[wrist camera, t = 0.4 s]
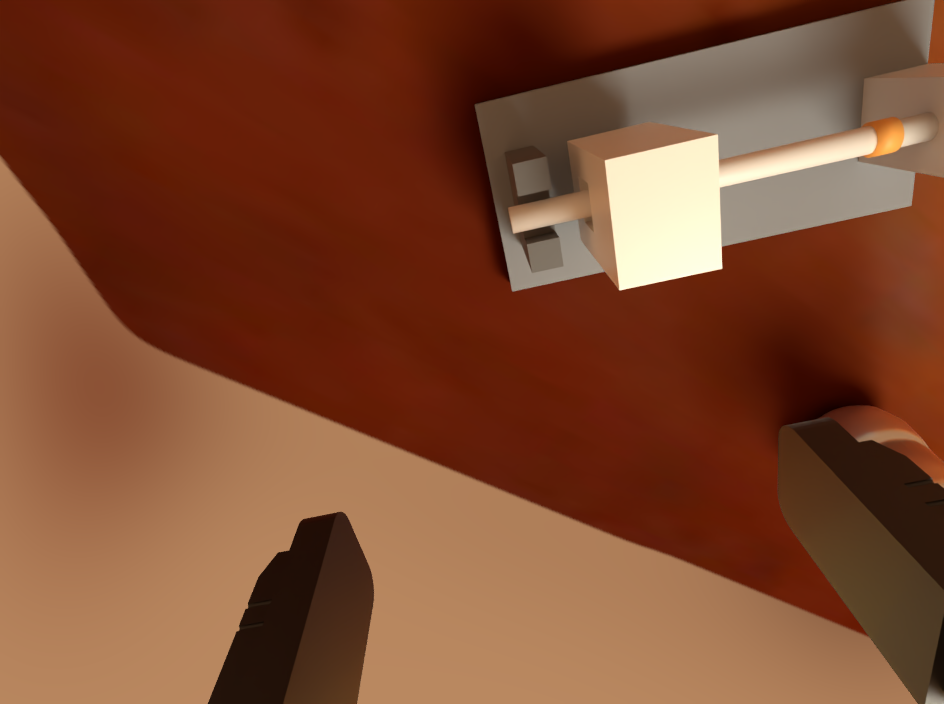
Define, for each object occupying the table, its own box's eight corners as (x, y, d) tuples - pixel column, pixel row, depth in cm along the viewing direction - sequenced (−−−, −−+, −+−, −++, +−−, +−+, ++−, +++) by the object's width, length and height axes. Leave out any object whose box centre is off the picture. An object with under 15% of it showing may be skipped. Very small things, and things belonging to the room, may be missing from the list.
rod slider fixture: (474, 104, 29) (479, 110, 21) (912, -3, 28) (1116, -43, 19) (510, 283, 33) (527, 350, 25) (892, 200, 32) (1051, 242, 23)
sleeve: (567, 141, 27) (604, 160, 20) (649, 121, 27) (717, 134, 20) (580, 240, 29) (619, 290, 22) (657, 223, 29) (721, 268, 22)
